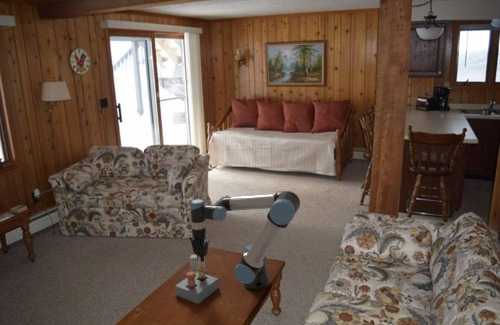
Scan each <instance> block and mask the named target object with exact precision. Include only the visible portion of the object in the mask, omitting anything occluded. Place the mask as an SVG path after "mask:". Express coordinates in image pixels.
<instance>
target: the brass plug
mask: <svg viewBox="0 0 500 325" xmlns="http://www.w3.org/2000/svg"><path fill="white" fill-rule="evenodd" d="M205 270H206V271H207V265H206V264H205V265H204V266H202V267H199V266H197V271H198V277H199V280H200V281H202V282H203V281H204V280H206V275H207V274H206V273H205ZM205 274H206V275H205Z"/></svg>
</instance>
